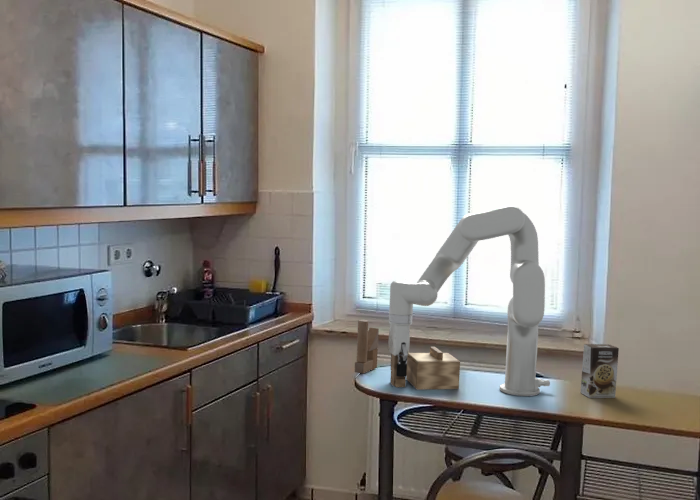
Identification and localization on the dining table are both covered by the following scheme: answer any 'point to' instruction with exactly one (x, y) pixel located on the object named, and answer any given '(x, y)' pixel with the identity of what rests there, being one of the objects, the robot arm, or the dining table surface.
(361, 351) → the wooden block
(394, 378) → the tall wooden pillar
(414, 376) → the toolbox
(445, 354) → the lid
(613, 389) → the coffee box
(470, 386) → the dining table surface
